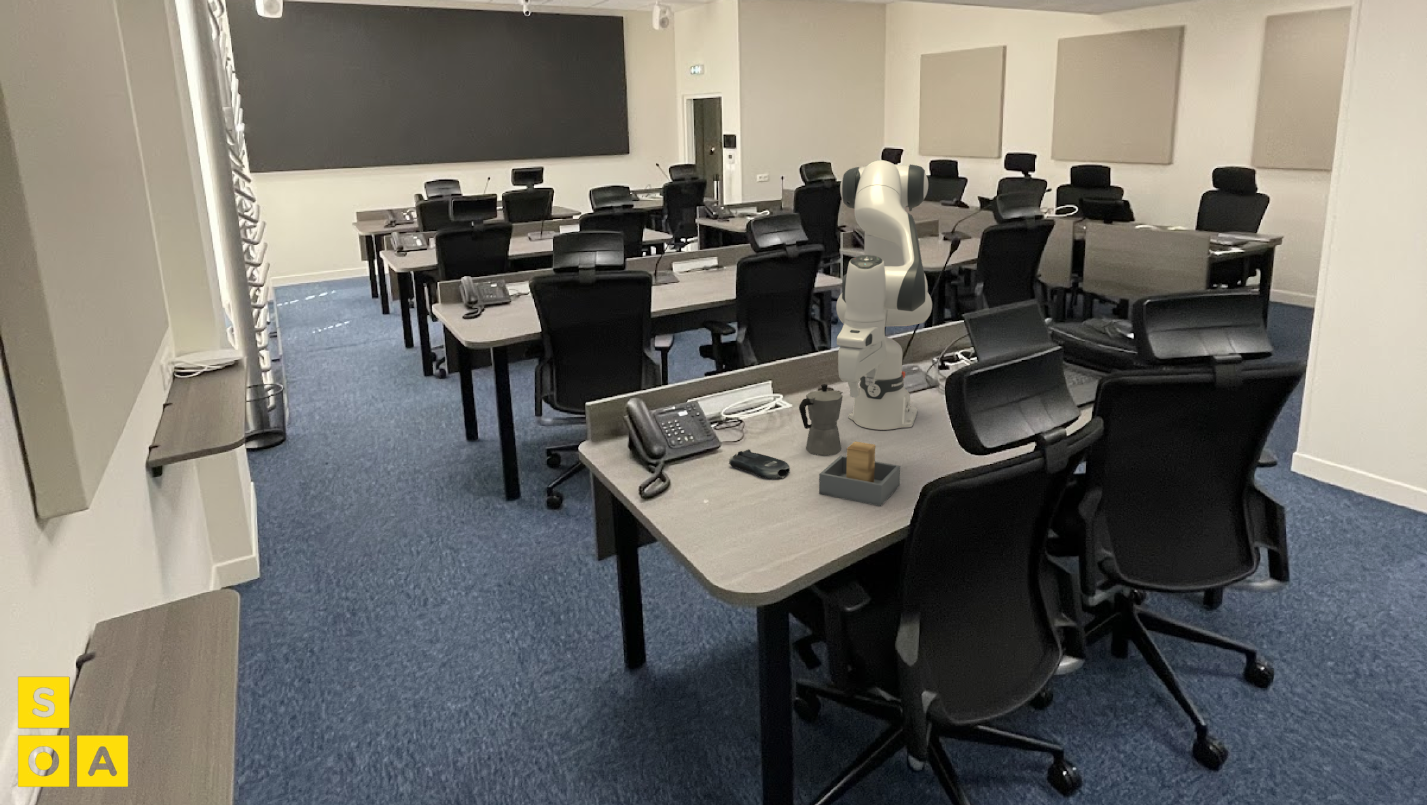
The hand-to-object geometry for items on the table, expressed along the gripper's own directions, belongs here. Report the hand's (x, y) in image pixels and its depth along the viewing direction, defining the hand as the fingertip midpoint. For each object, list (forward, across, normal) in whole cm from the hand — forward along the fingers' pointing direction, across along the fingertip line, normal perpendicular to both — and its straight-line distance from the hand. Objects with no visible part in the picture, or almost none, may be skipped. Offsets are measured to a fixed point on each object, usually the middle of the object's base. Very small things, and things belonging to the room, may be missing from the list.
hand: (862, 390), depth 196 cm
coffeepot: (+25, -19, -18) cm, 36 cm away
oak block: (+24, 0, 0) cm, 24 cm away
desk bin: (+24, 0, 0) cm, 24 cm away
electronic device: (+25, 0, -26) cm, 36 cm away
